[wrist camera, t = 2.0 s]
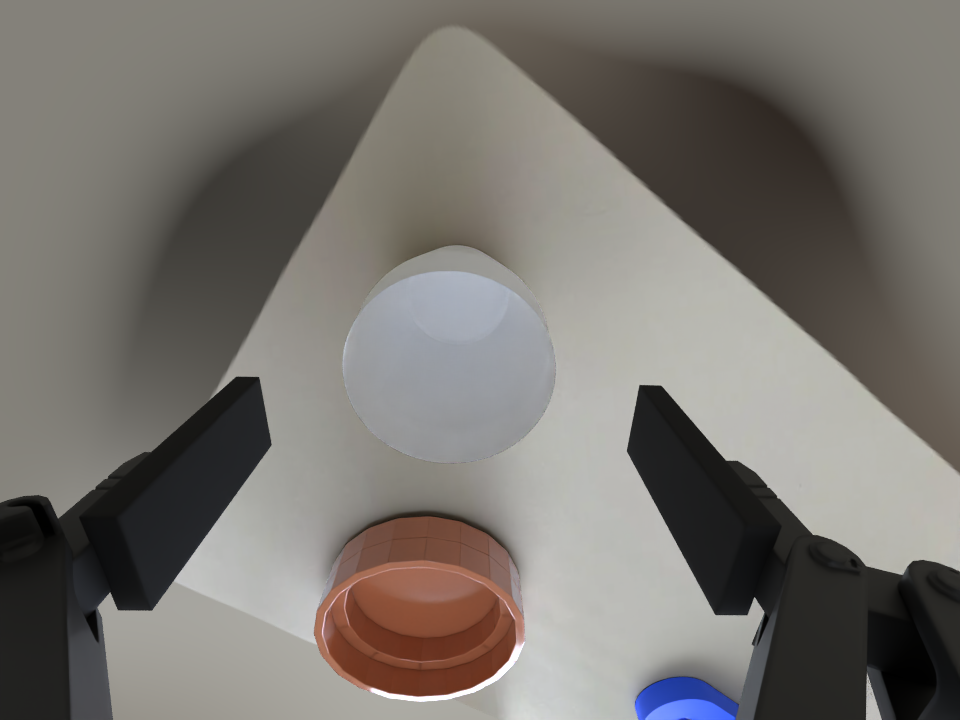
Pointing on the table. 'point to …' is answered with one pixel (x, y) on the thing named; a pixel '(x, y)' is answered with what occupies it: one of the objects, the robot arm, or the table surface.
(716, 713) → the bracket
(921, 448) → the table surface
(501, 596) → the bowl
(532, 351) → the cup
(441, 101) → the table surface
